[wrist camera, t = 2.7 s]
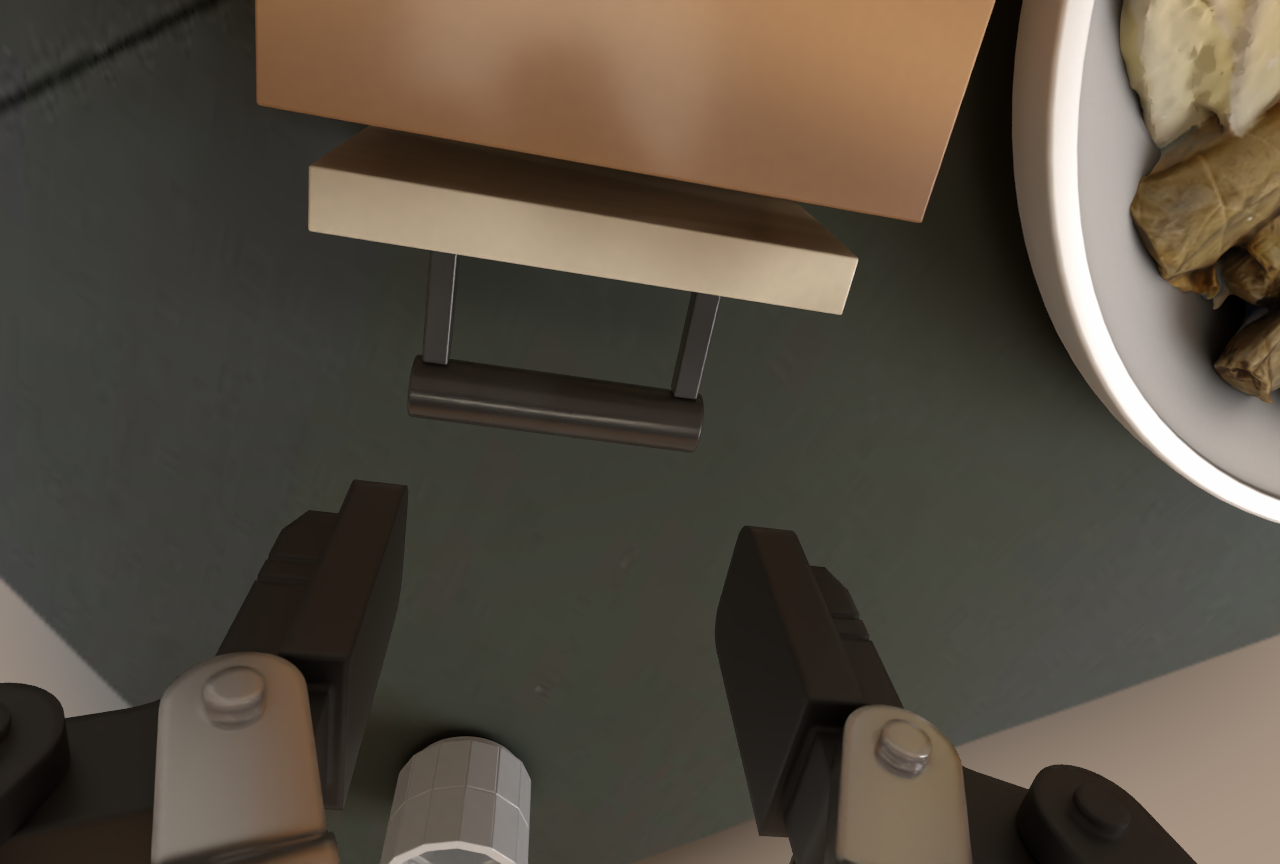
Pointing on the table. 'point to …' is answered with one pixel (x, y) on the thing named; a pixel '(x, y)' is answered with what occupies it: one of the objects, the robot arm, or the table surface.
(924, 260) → the table surface
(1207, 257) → the bowl
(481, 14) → the brown wooden drawer cabinet
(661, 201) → the drawer
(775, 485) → the table surface
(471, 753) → the white faceted cup
